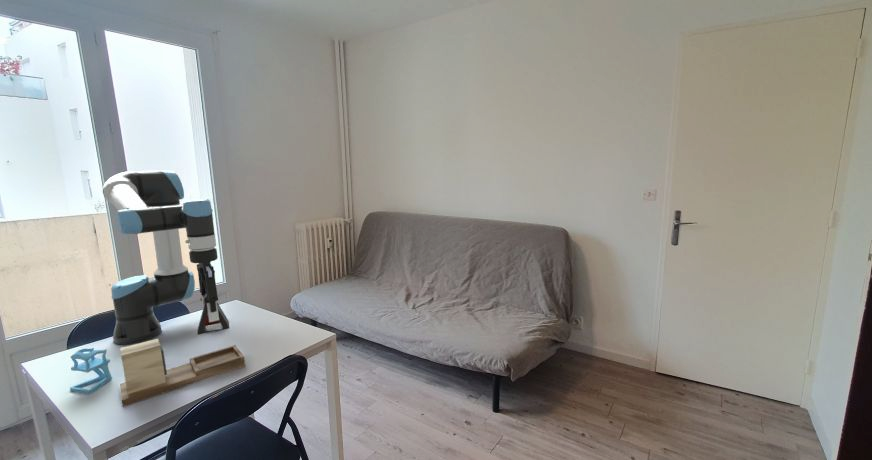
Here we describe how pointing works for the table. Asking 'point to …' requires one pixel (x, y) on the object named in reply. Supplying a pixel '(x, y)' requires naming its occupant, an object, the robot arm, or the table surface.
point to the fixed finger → (143, 365)
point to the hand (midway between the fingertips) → (211, 317)
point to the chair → (91, 368)
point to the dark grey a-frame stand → (215, 327)
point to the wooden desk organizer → (189, 373)
